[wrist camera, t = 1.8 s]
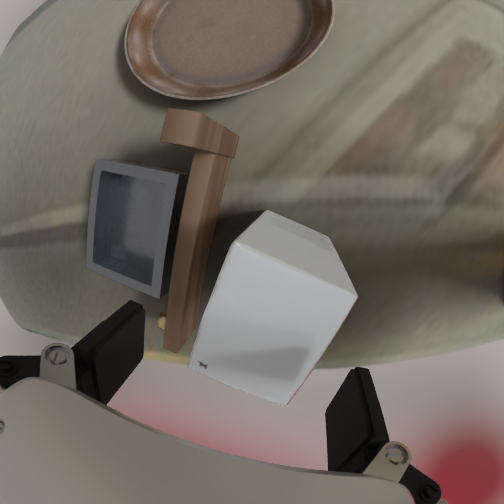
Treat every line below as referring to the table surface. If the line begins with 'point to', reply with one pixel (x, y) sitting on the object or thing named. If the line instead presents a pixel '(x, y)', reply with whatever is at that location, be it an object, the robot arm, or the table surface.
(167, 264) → the gray square tray
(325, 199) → the table surface
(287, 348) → the small box
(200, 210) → the brown l-shaped wood piece
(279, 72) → the plant saucer
